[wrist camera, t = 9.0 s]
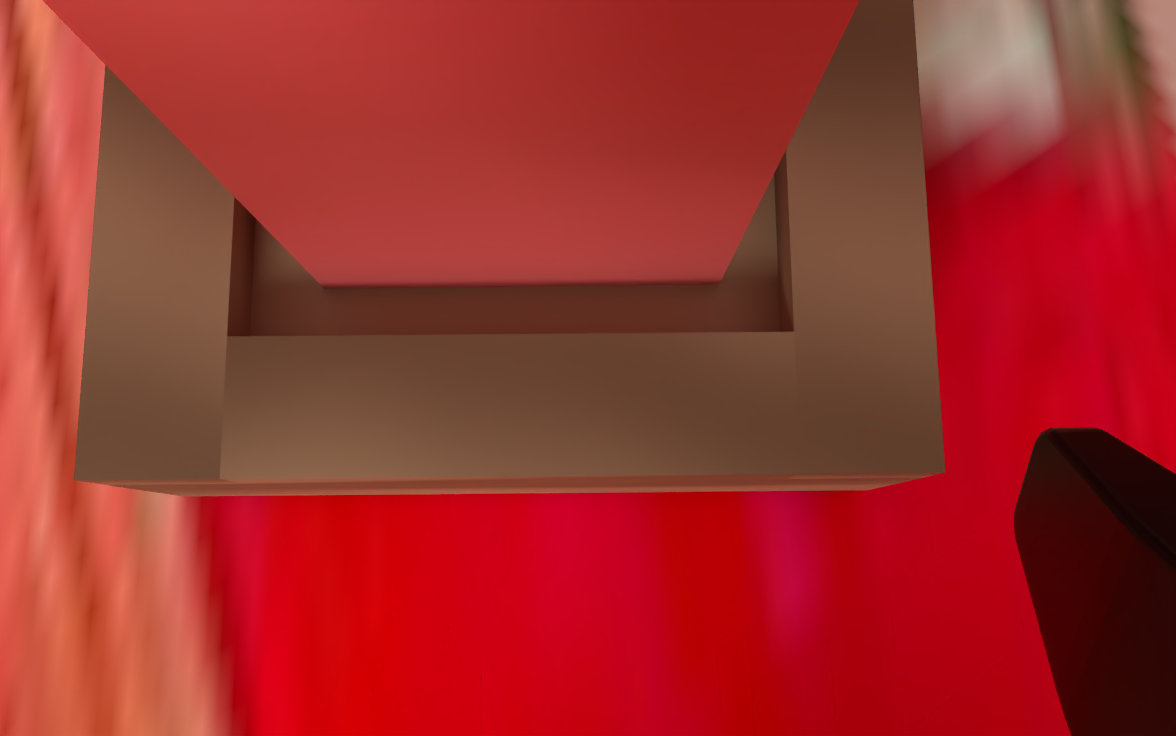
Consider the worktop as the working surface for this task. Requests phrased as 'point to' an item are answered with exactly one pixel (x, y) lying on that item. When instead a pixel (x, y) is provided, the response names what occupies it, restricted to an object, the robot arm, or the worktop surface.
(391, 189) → the red brick
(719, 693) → the worktop surface
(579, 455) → the walnut base
